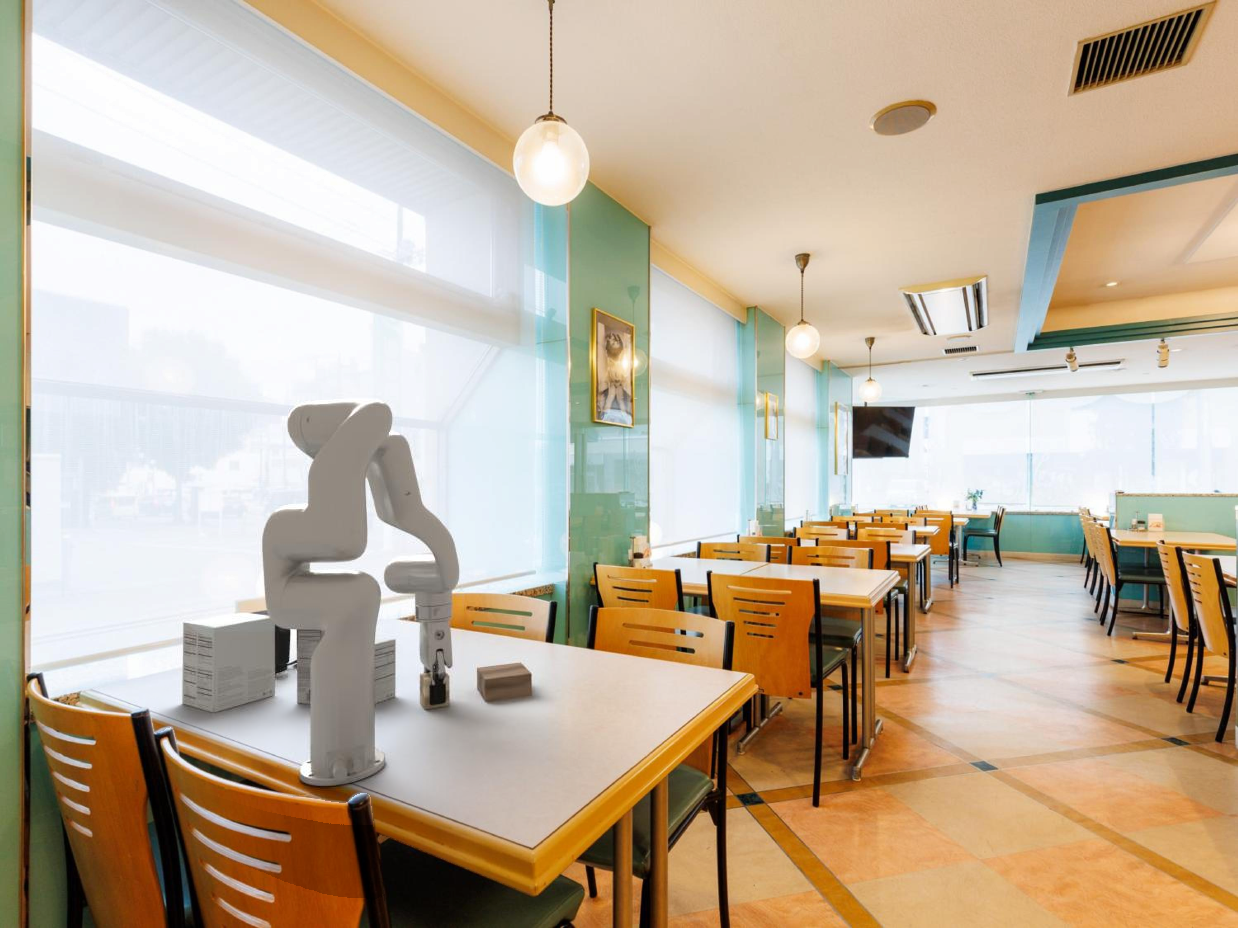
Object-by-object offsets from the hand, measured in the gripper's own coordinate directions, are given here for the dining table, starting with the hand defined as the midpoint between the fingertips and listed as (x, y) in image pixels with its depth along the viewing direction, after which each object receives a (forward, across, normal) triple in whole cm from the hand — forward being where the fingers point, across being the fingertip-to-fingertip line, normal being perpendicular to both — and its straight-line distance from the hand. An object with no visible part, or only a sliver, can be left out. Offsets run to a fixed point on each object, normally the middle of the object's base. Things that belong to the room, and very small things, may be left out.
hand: (434, 698), depth 134 cm
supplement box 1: (+1, +28, +38) cm, 47 cm away
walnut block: (+1, 0, -15) cm, 15 cm away
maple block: (+1, 0, 0) cm, 1 cm away
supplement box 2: (+1, +11, +11) cm, 16 cm away
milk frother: (+1, +51, +27) cm, 58 cm away
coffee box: (+1, +18, +20) cm, 27 cm away
